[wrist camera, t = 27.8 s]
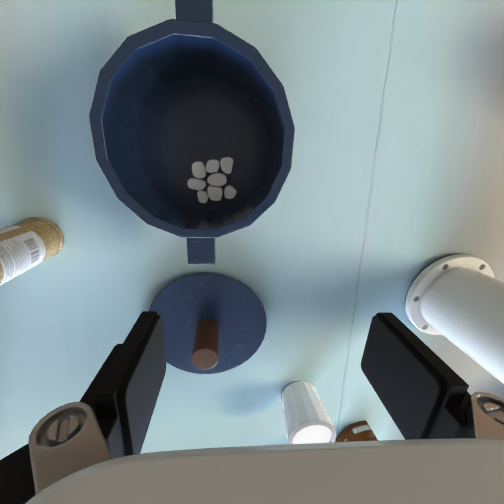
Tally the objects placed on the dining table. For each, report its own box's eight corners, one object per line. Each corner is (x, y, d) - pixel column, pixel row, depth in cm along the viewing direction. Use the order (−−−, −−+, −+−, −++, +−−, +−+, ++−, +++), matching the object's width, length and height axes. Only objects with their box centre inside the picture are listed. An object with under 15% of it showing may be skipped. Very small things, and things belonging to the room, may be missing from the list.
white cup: (283, 375, 39) (295, 419, 32) (324, 379, 40) (344, 423, 33) (272, 408, 41) (281, 455, 34) (311, 410, 42) (327, 457, 36)
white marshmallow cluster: (234, 156, 25) (237, 201, 27) (233, 156, 27) (236, 199, 28) (184, 159, 25) (190, 204, 26) (186, 159, 26) (191, 202, 28)
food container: (333, 417, 43) (363, 488, 34) (367, 414, 44) (406, 483, 34) (324, 463, 47) (348, 538, 38) (355, 460, 48) (386, 533, 39)
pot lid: (268, 270, 32) (279, 297, 26) (262, 365, 38) (269, 406, 31) (142, 271, 31) (121, 299, 24) (154, 370, 36) (139, 414, 30)
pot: (280, 39, 24) (308, -21, 16) (267, 239, 31) (282, 267, 23) (119, 23, 22) (61, -52, 14) (143, 238, 29) (113, 267, 21)
